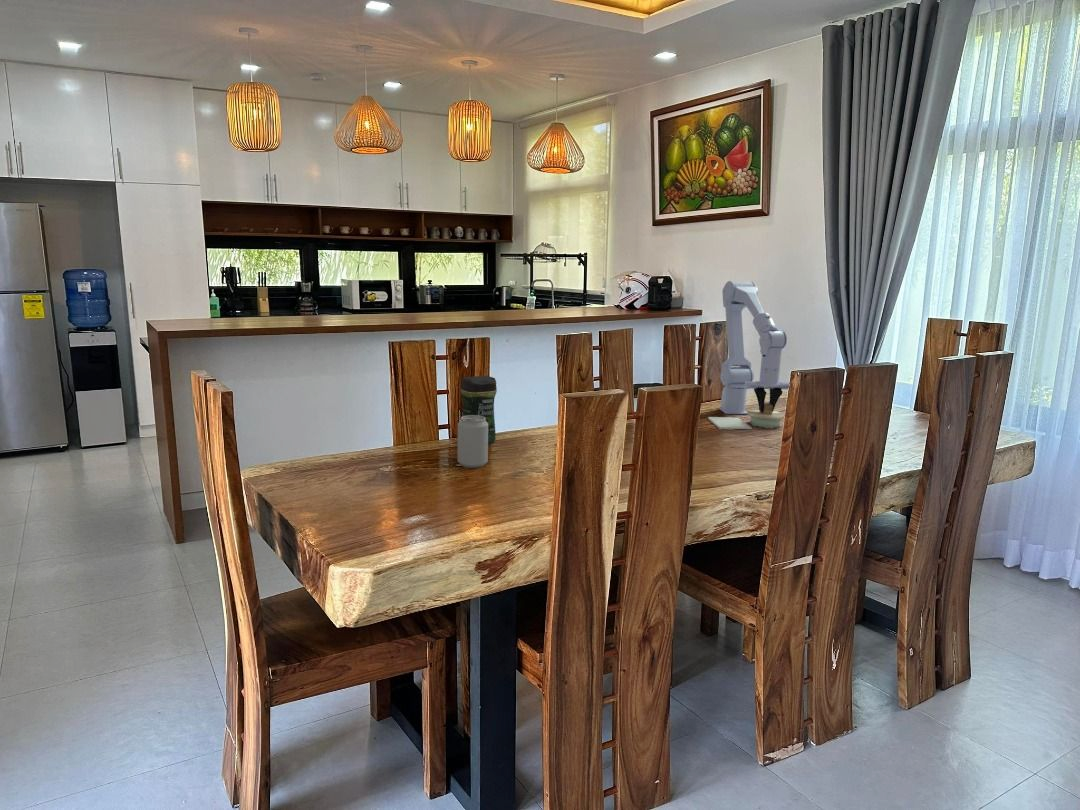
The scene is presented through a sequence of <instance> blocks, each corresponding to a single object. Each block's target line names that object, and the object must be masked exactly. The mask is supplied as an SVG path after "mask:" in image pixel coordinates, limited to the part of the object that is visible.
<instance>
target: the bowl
mask: <svg viewBox="0 0 1080 810" xmlns="http://www.w3.org/2000/svg"><path fill="white" fill-rule="evenodd" d="M749 424H750V425H751V424H752V425H751V426H753V425H754V426H753V427H756V426H759V427H758V428H761V427H778V426H779V427H780V426H781V425H780V424H781V419H777V420H769V419H759V418H754V417H751V416H750V422H749ZM779 427H778V428H779Z"/></svg>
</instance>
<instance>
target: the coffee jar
mask: <svg viewBox="0 0 1080 810" xmlns="http://www.w3.org/2000/svg"><path fill="white" fill-rule="evenodd" d="M497 391H498V389H497V380H496V377H493V376H489V375H478V376H475V375H474V376H467V377H465V376H464V377H463V378H462V379H461V384H460V394H461V397H462V411H461V417H462V416H467V415H478V416H483V417H485V418H486V420H485V421H486V422H487V423H488V445H489V444H493V443H495V441H496V434H497V433H496V424H495V397H496V395H497V393H498V392H497Z"/></svg>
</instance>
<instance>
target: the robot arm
mask: <svg viewBox="0 0 1080 810" xmlns="http://www.w3.org/2000/svg"><path fill="white" fill-rule="evenodd" d="M721 291H722V302H723V303H722V304H723V305H722V306H723V307H724V308H725V310H724V311H725V320H726V321H725V324H726V325H725V326H726V340H727V341H726V342H727V353H728V354H727V357H728V358H727V359H726V360H725V361H724V362H722V364H721V369H720V370H721V371H720V375H719V376H720V378H719V379H720V381H721V383H722V385H723V386H724V387H723V388H722V391H721V402H720V404H721V405H720V406H718V407H717V408H718V409H719V410H720V411H721V412H723V414H725V415H748V410H746V403H747V391H748V390H750V389H752V390H753V391H754V394H755V396H756V399H757V403H758V409H759V411H761V412H763V411H764V403H765V401H766V400H765V399H766V397H767V391H766V390H769V402H768V403H770V404H771V405H773V409H772V412H773V411H775V407H776V406H777V405H776V404H777V403H778V400H779V399H780V397H781V396H782V394H783V392H784V391H783V390H788V388H789V383H790V382H783V381H779V380H780V370H781V359H782V352H783V351H782V350H783V349H785V347H786V345H787V342H788V341H787V340H788V339H787V338H788V336H787V334H786V332H785V331H784V330H782V329H780V328H778V327H777V325H776V323H775V322H774V320H773V318H772V316H771V314H770V313H768V312H765V311H764V309H763V307H762V304H761V302H760V300H759V297H758V294H759V288H758V286H757V283H755V282H754V281H731V280H728V281H726V283H725V284H724V286H723V288H722V290H721ZM745 308H747V309H748V311H749V312H750V314H751V315H752V317H753V319H752V324H753V326H754V328H755V330H756V331H757V334H758V336H759V337H760V338H759V339H758V340H759V341H758V342H759V346H760V354H761V362H760V369H759V371H760V373H759V380H755V381H753V380H754V377H755V375H754V371H753V368H752V362H751V361H750V360H748V359H747V358H746V357H745V347H744V346H745V345H744V331H743V329H744V328H743V317H742V316H743V315H742V312H743V310H744V309H745Z"/></svg>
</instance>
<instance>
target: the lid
mask: <svg viewBox="0 0 1080 810" xmlns="http://www.w3.org/2000/svg"><path fill="white" fill-rule="evenodd" d="M772 409H773V405H771V404H770V403H769V402H764V411H763V412H761V411H759V408H757V409H750V410H747V412H748V414H747V415H748V416H749V417H750V418H751V417H754V418H759V419H769V420H777V419H780V420H781V419H784V417H785V414H784V413H783V412H780V411H778V410H776V411H775V410H773V412H772Z"/></svg>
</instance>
